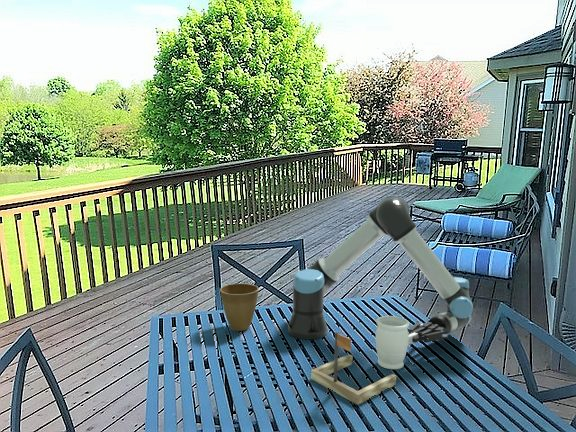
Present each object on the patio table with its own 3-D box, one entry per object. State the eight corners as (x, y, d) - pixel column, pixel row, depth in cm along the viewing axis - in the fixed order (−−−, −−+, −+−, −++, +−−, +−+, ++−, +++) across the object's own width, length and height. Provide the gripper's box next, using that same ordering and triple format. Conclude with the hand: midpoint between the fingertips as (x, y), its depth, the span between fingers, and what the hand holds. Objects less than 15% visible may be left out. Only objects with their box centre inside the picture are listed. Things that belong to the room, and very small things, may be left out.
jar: (408, 360, 160) (410, 317, 157) (405, 373, 150) (408, 329, 148) (376, 355, 163) (378, 313, 161) (372, 368, 153) (374, 324, 151)
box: (348, 362, 157) (350, 311, 154) (395, 384, 143) (398, 328, 140) (311, 379, 146) (312, 323, 143) (357, 405, 132) (360, 344, 129)
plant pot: (265, 324, 189) (265, 285, 187) (246, 337, 176) (246, 296, 174) (233, 318, 195) (233, 280, 193) (213, 330, 182) (212, 290, 180)
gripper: (458, 340, 169) (421, 358, 154) (426, 329, 179) (388, 345, 163) (459, 320, 168) (422, 337, 153) (427, 310, 178) (389, 325, 162)
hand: (404, 341), depth 158 cm, fingers closed
